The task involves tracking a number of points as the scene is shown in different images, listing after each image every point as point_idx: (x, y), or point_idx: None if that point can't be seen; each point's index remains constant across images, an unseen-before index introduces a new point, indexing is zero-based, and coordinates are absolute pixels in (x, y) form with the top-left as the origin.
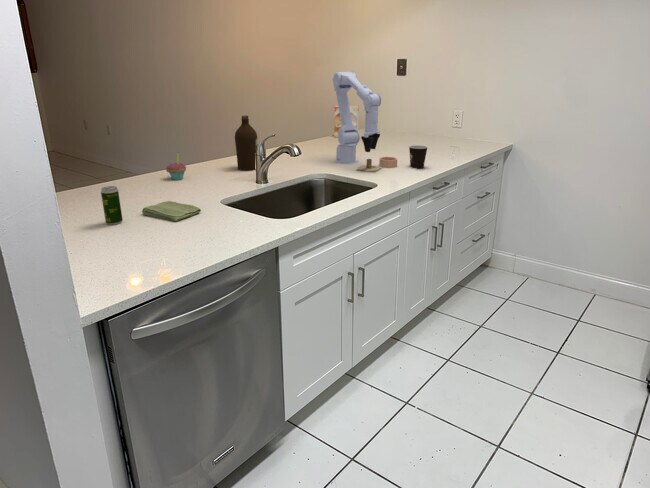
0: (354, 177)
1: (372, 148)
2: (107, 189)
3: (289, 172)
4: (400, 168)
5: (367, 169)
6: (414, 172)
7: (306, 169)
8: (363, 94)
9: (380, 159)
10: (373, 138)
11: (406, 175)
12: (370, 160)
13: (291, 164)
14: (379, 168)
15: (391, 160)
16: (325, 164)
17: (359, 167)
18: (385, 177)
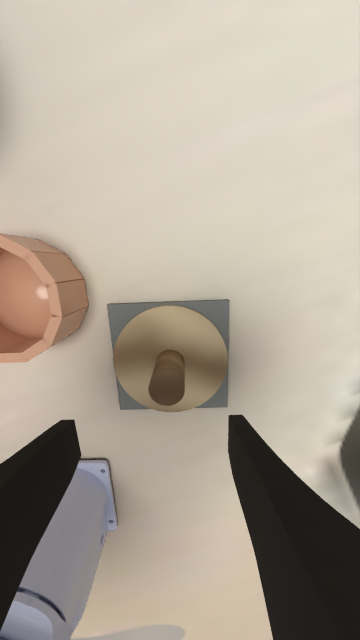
0: (354, 361)
1: (74, 446)
2: None
3: None
4: (30, 206)
5: (216, 354)
6: (81, 61)
7: None
8: None
9: (53, 343)
10: (355, 633)
11: (194, 87)
12: (177, 374)
13: (220, 625)
14: (122, 315)
15: (37, 258)
16: (159, 545)
17: (189, 406)
18: (300, 207)
